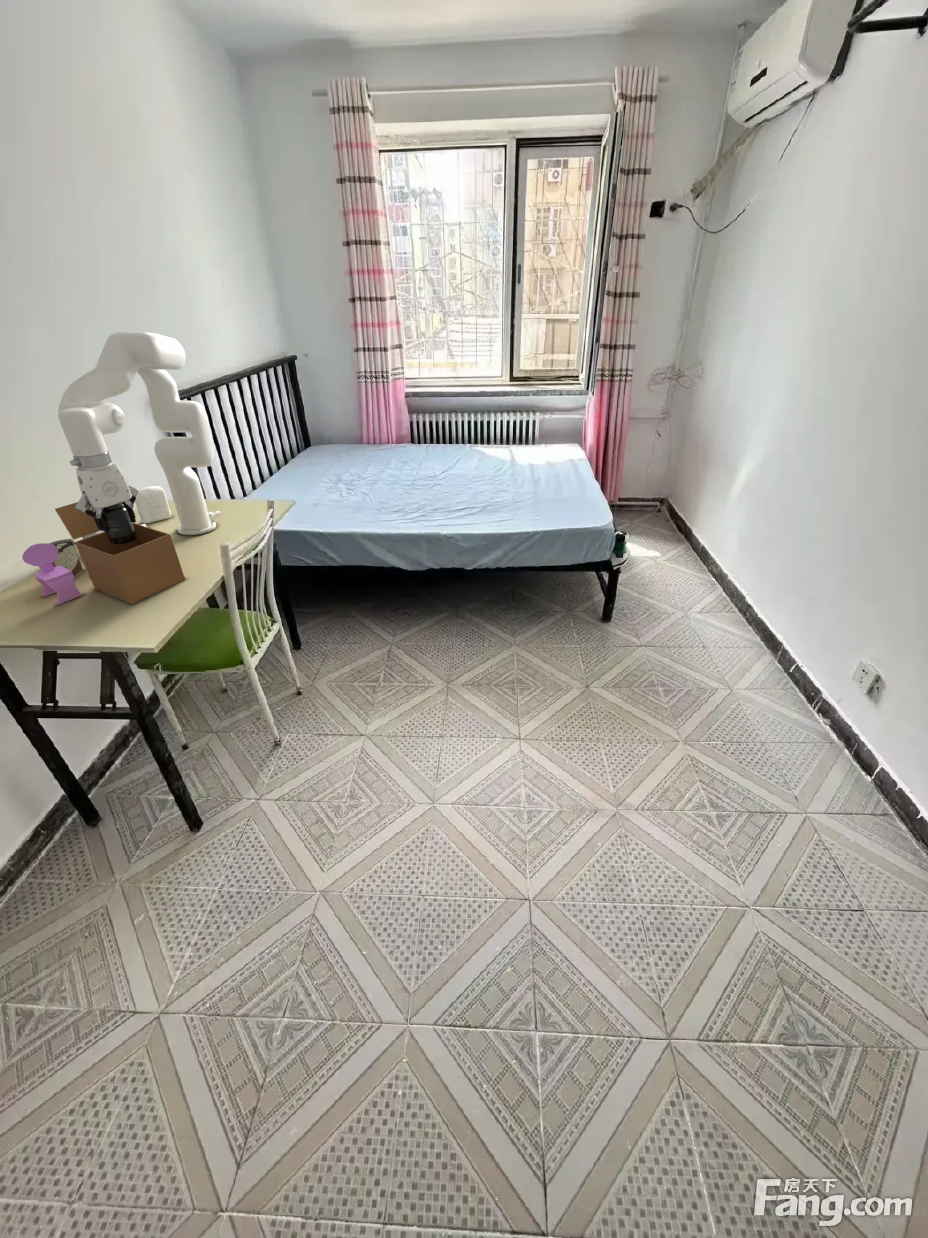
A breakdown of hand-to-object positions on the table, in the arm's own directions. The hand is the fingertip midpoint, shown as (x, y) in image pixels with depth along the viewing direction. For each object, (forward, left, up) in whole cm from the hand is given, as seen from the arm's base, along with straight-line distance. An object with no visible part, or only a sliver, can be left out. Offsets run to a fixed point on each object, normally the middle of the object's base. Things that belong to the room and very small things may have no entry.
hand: (118, 525), depth 141 cm
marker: (-21, -33, -18) cm, 43 cm away
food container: (+9, -23, -18) cm, 31 cm away
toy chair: (+15, -12, -18) cm, 26 cm away
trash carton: (0, 0, -18) cm, 18 cm away
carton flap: (0, -10, +1) cm, 10 cm away
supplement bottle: (0, 0, -4) cm, 4 cm away
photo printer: (-33, -41, -18) cm, 56 cm away
